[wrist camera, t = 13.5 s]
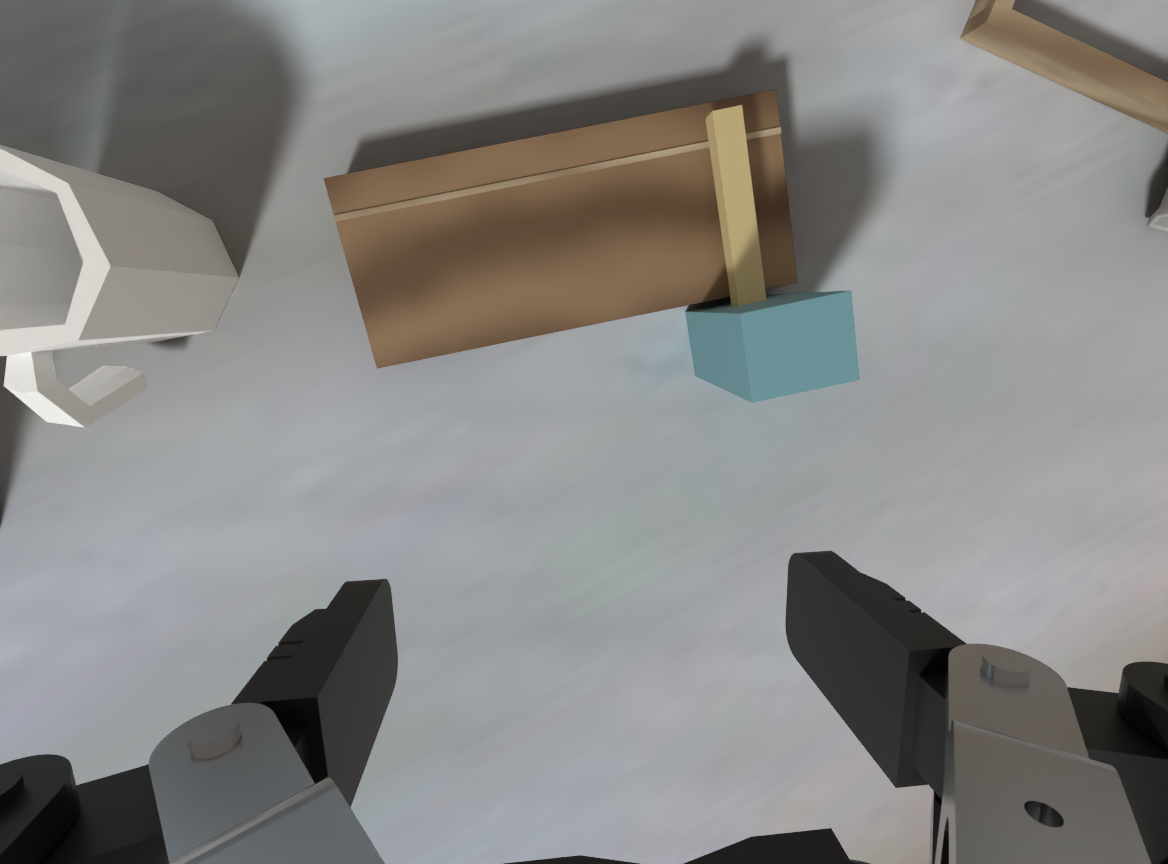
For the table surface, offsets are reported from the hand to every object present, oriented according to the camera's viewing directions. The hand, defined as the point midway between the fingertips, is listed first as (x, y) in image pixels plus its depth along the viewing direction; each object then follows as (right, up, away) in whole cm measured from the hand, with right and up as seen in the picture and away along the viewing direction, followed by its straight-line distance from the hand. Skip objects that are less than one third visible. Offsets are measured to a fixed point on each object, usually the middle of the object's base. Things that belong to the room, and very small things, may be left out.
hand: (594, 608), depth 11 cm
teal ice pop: (+8, +14, +23) cm, 28 cm away
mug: (-25, +11, +21) cm, 34 cm away
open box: (-1, +15, +22) cm, 26 cm away
